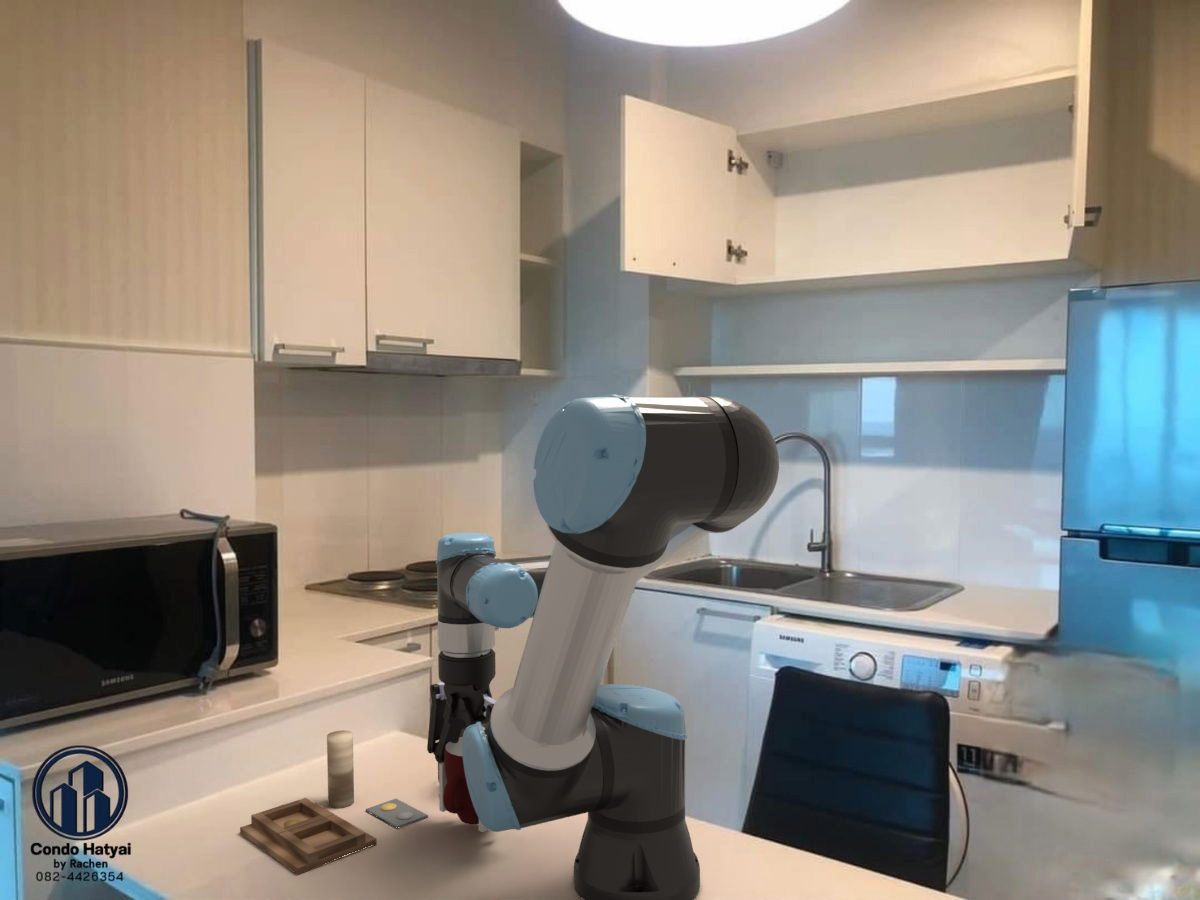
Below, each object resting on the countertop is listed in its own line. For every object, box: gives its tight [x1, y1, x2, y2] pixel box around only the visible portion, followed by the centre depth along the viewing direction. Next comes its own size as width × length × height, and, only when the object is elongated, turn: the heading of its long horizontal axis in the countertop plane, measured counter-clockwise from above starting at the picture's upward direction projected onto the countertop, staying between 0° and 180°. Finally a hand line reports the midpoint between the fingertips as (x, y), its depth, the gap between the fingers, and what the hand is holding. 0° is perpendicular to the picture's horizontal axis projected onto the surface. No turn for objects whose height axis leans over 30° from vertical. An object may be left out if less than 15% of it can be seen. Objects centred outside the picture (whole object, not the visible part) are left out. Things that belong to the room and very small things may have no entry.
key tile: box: [365, 798, 429, 829], centre depth 132 cm, size 8×5×1 cm, turn 45°
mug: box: [443, 737, 479, 826], centre depth 125 cm, size 11×8×10 cm
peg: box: [326, 729, 355, 809], centre depth 136 cm, size 4×4×10 cm
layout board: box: [239, 797, 377, 875], centre depth 124 cm, size 16×11×2 cm
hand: (468, 817), depth 126 cm, fingers closed on mug, 8 cm apart
